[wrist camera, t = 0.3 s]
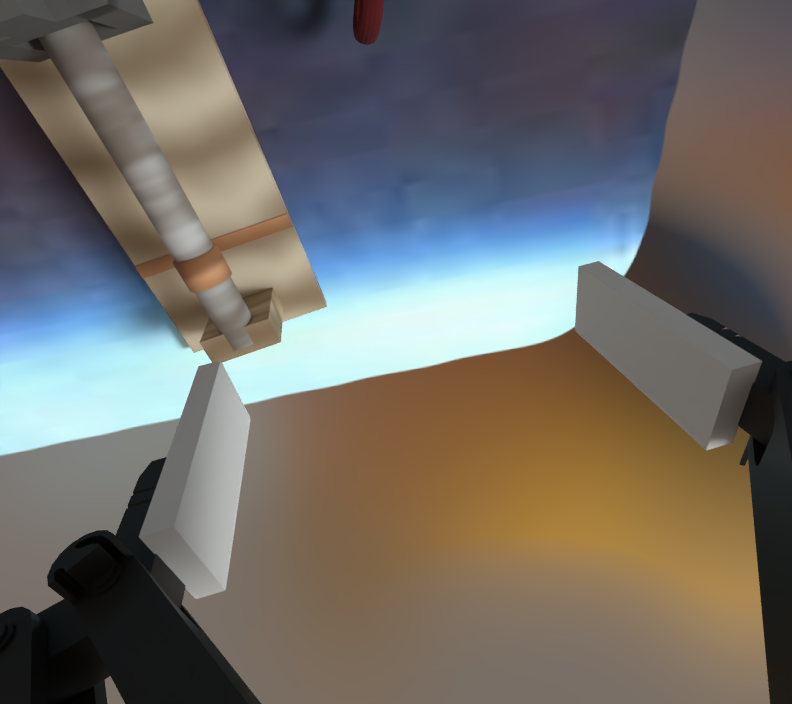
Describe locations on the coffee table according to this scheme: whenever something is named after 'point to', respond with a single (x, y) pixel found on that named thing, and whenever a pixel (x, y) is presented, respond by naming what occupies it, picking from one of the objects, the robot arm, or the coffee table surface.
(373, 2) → the mug
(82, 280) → the coffee table surface
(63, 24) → the collar
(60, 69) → the pipe rig
